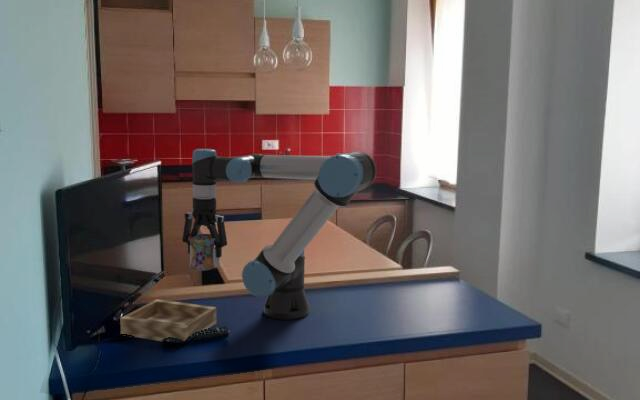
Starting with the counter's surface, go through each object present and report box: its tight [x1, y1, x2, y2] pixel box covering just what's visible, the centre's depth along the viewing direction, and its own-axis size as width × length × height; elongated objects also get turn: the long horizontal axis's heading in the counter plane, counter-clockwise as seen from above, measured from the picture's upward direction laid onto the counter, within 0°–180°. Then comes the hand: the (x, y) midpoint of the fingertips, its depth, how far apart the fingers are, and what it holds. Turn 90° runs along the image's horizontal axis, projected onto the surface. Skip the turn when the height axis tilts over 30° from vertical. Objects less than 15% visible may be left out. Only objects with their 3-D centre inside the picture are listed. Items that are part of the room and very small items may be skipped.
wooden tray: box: [119, 298, 218, 342], centre depth 187 cm, size 22×19×5 cm
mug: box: [188, 233, 215, 272], centre depth 198 cm, size 12×9×11 cm
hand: (204, 265), depth 199 cm, fingers closed on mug, 8 cm apart
